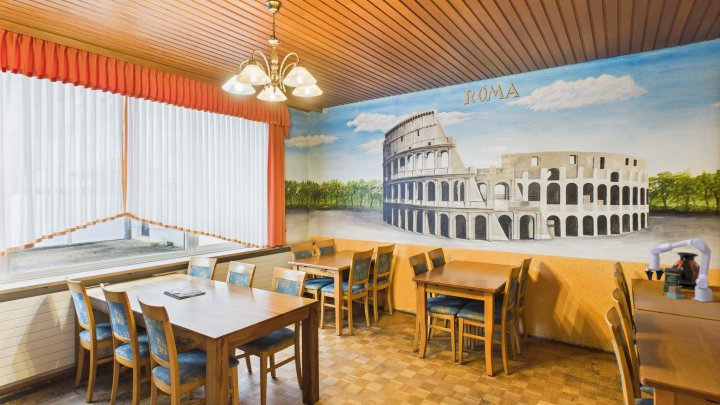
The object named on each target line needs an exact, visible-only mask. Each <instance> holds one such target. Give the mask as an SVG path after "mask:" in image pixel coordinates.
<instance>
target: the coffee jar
mask: <svg viewBox="0 0 720 405" xmlns="http://www.w3.org/2000/svg"><path fill="white" fill-rule="evenodd" d="M663 275H664V280H663V286H662V289H663V291H664V292H669V286H678V287H679V276H680V271H679V269H675V268H671V267H665V268H664V273H663Z"/></svg>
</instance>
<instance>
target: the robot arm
mask: <svg viewBox="0 0 720 405" xmlns="http://www.w3.org/2000/svg"><path fill="white" fill-rule="evenodd" d="M686 246H688V247H692V246H693V247H694V248H695V249H697V250H699V251H700V252H701V257H700V258H701V259H700V264H699V266H700V270H699V275H698V278H697V279H696V284H697V286H695V290H694V297H691V300H694V301H699V302H701V303H703V302H714V300H713V290H712V289H711V288H709V286H710V285H709V282H708V280H709V278H708V275H709V269H710V263H711V262H710V261H711V255H712V250H711V248H710V247H709V245H708V244H707V243H706V242H705V241H703V239H701V238H694V239H693V238H690V239H685V240H681V241H677V242H676V243H669V242H664V243H663V244H658V245H656V246H652V247H651V248H650V250H649V251H650V257H649V267H645V268H644V269H645V270H644V272H645V274H646V276H647V277H646V278H647V280H648V281H650V282H651V281H653V275H654V273H656V274H655V275H656V280H657V281H661V279H662V276H663V275H664V270H665V268H664V267H661V266H660V262H661V261H660V260H661V257H660V253H661V254H663V253H667V252H671V251H673V250H674V249H677V248H679V247H680V248H682V247H686Z"/></svg>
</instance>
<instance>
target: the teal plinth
mask: <svg viewBox="0 0 720 405" xmlns="http://www.w3.org/2000/svg"><path fill="white" fill-rule="evenodd" d="M665 292H666V291H665ZM665 296H666V297H667V298H671V299H674V300H683V299H685V294H683V293H681V294H672V293H669V292H666V294H665Z"/></svg>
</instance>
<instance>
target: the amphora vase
mask: <svg viewBox="0 0 720 405" xmlns="http://www.w3.org/2000/svg"><path fill="white" fill-rule="evenodd" d="M676 254H677V255H678V256H679V260H677V261H676V262H675V263H673V264H672V265H671V267H670V268H675V269H679V271H680V276H679V287H681V289H683V290H690V291H691V290H693V291H695V286H697V284H696V279H697V278H698V275H699V270H700V264H698V263H697V261H696V260H695V258H696V257H698V256H699V254H698V253H693V252H684V251H683V252H682V251H681V252H676Z"/></svg>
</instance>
